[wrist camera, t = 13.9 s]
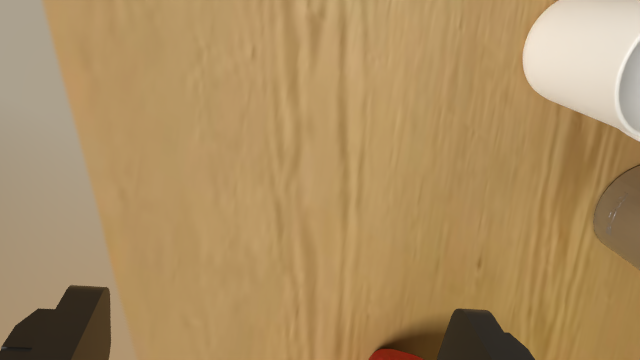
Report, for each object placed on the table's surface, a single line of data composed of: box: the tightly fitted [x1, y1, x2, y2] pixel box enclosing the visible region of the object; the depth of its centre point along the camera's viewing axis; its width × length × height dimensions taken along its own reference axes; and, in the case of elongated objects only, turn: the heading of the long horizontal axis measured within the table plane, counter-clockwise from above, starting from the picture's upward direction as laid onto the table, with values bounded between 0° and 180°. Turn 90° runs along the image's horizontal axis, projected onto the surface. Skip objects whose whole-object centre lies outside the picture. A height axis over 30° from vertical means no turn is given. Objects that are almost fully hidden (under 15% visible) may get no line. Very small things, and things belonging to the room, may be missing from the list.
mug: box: [523, 0, 640, 142], centre depth 34 cm, size 12×8×10 cm
